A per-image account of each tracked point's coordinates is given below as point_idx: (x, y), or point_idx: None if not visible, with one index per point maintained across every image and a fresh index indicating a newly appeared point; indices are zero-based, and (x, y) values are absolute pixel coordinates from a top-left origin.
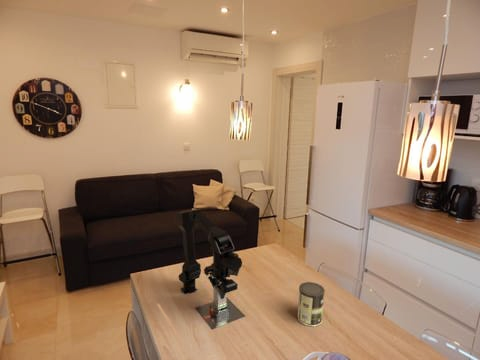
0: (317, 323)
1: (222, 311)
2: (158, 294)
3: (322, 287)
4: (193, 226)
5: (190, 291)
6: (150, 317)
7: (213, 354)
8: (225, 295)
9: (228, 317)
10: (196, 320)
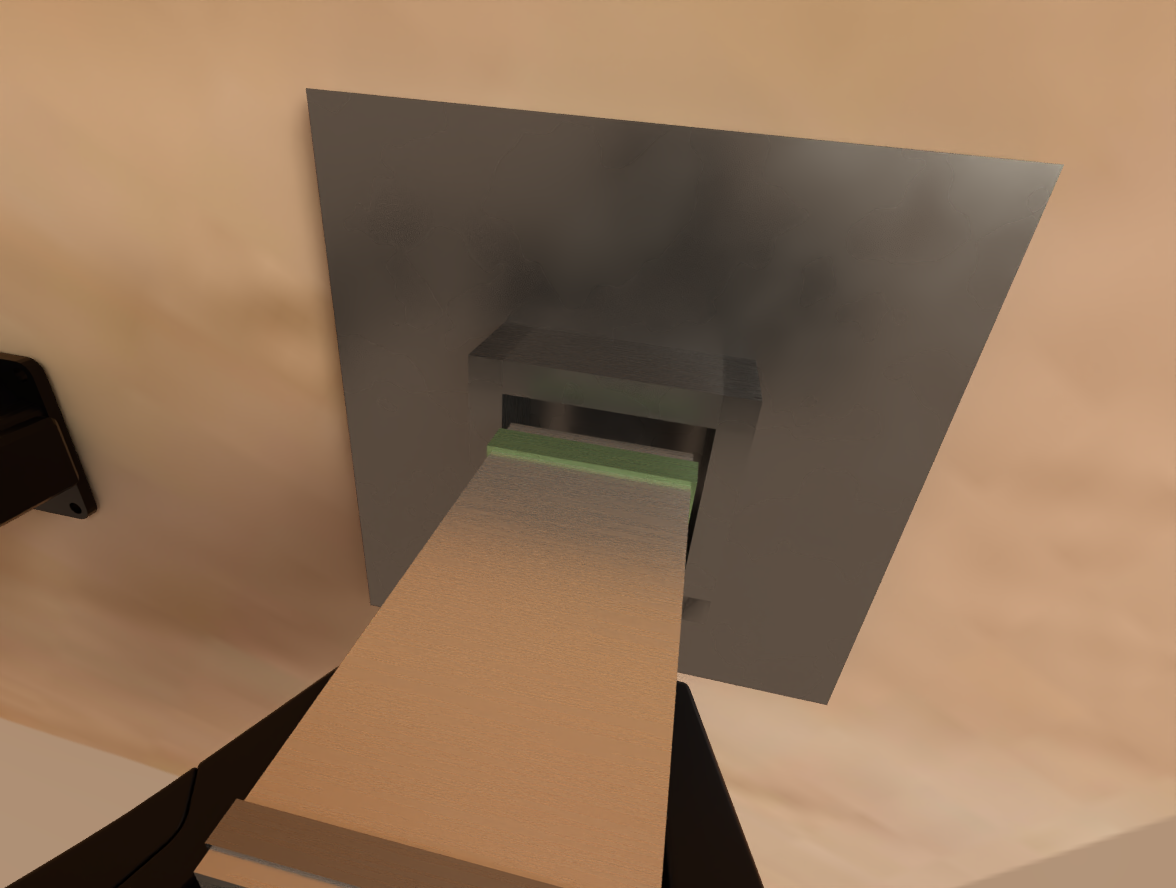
0: None
1: (724, 539)
2: (35, 653)
3: None
4: None
5: (47, 496)
6: None
7: (1088, 834)
8: (674, 678)
9: (809, 438)
10: None
